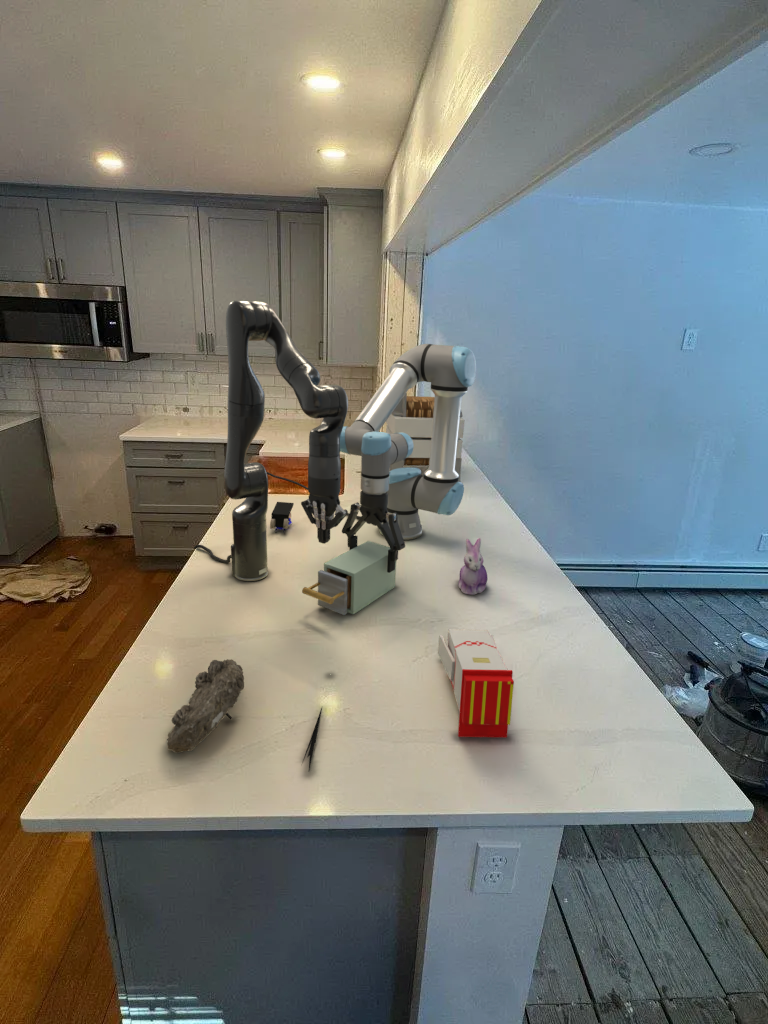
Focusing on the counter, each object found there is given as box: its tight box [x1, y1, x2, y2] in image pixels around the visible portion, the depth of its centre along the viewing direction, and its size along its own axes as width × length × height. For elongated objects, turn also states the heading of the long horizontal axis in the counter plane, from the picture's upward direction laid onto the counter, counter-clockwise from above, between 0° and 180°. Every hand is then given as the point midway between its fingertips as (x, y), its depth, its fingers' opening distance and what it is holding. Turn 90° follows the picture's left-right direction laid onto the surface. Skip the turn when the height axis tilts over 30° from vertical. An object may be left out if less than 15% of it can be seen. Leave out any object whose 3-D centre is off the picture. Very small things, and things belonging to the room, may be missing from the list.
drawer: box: [301, 569, 351, 616], centre depth 149 cm, size 24×9×10 cm, turn 146°
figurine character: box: [269, 501, 294, 534], centre depth 199 cm, size 7×8×15 cm
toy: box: [437, 628, 515, 738], centre depth 117 cm, size 12×13×30 cm
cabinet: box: [323, 540, 397, 615], centre depth 155 cm, size 20×10×12 cm, turn 146°
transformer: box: [385, 392, 465, 482], centre depth 268 cm, size 34×33×41 cm
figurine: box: [457, 537, 488, 596], centre depth 160 cm, size 9×10×15 cm
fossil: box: [166, 658, 245, 754], centre depth 106 cm, size 22×10×15 cm
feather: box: [301, 673, 332, 771], centre depth 108 cm, size 2×28×2 cm
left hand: (323, 542), depth 137 cm, fingers closed
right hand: (371, 564), depth 158 cm, fingers open, 12 cm apart
